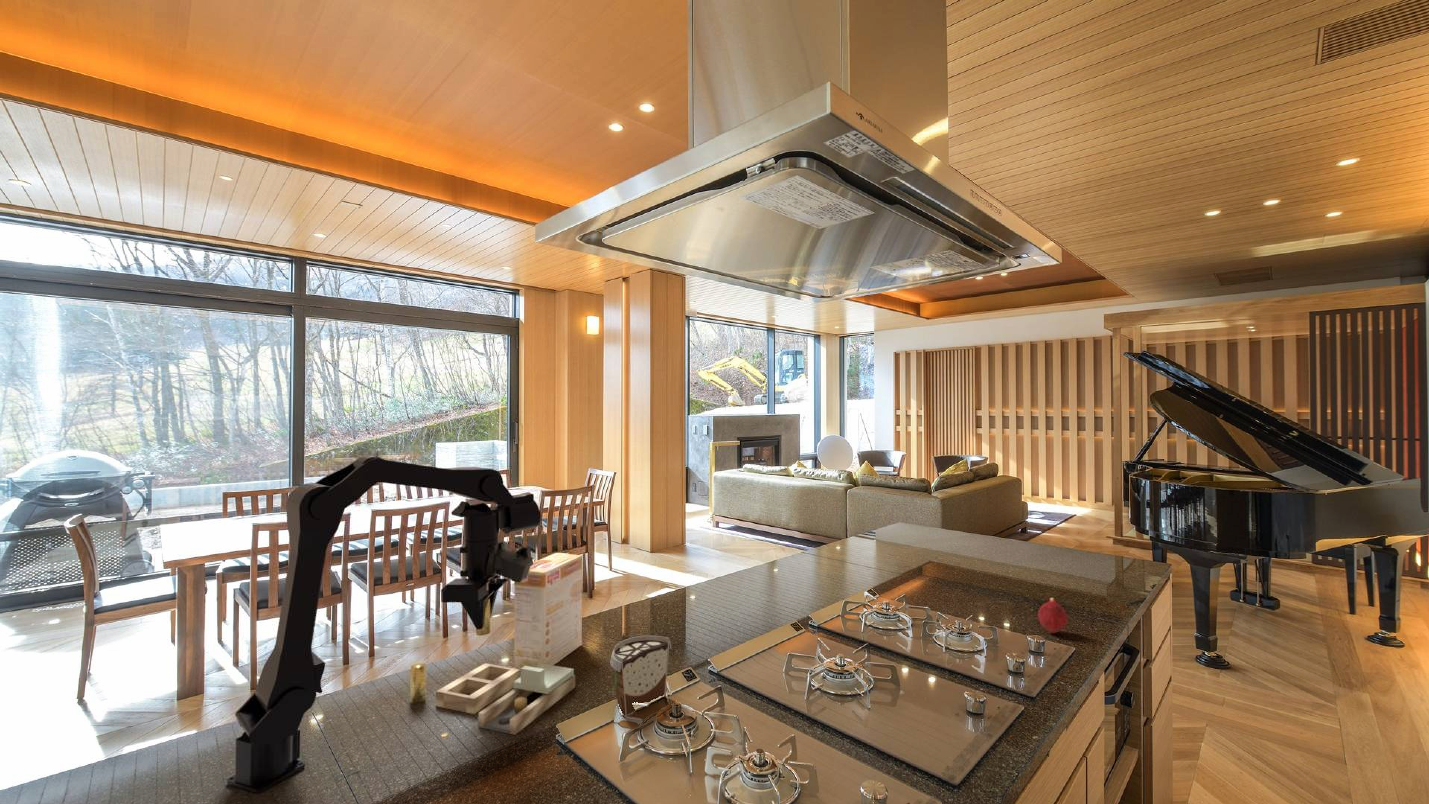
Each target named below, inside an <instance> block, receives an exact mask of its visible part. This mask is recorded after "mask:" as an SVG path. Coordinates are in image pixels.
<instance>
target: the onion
mask: <svg viewBox="0 0 1429 804" xmlns="http://www.w3.org/2000/svg"><path fill="white" fill-rule="evenodd" d="M1037 617H1038V621H1039V622H1040V624H1041V626H1042V627H1043V628H1044V629H1045V630H1047V631H1048V632H1049V633H1051V634H1056V633H1058V632H1060V631H1062V630H1063V629H1064V628H1065V627H1066V626H1067V624H1068V616H1067V612H1066V610H1065V609H1064V607H1062V606H1061V605H1060V604H1059V603H1058V602H1056V599H1055V598H1054V597H1051V598H1049V601H1048V602H1046V603H1043V605H1041V606H1040V608H1039V609H1038V612H1037Z"/></svg>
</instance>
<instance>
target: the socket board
mask: <svg viewBox="0 0 1429 804" xmlns="http://www.w3.org/2000/svg"><path fill="white" fill-rule="evenodd" d="M520 677H521V670H520V669H515V668H514V667H507V666H503V665H498V664H492V663H486V662H485V663H483V664H481V665H480V666H478V667H476V668H475V669H473V670H470V671H469V672H467V673H466V674H463V675H462V676H460V677H459V678H457V679H455V680H453V681H451V682H450V683H448V684H446V685H445V686H442V687H441V688H440V689H438V690H436V691H435V692H436V693H435V695H436V697H435V698H436V699H435V705H436V706H435V707H438V708H445V709H448V710H452V711H453V710H454V711H458V712H463V713H468V714H470V715H471V714H472V715H475V714H476V713H479V712H480V711H482V710H483V709H485V707H488V706H489V704H490V705H491V704H492V703H494V702H495V701H497V700H498V699H500V698H501V697H503V696H504V695H506V694H507V693H509V692H510V691H511V690H513V689H514V688H513V682H514V681H515V680H517V679H518V678H520Z"/></svg>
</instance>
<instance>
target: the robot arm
mask: <svg viewBox="0 0 1429 804" xmlns="http://www.w3.org/2000/svg"><path fill="white" fill-rule="evenodd" d="M379 483H383V484H390V485H391V484H392V485H400V486H409V487H417V488H425V489H433V490H440V491H441V490H442V491H445V492H447V493H450V494H453V495H457V496H459V497H463V498H466V499H470V500H477V501H480V503H475V504H470V503H469V502H467V501H462V500H461V501H460V503H459V504H458V505H457V506H456V507H455V508H454V509H453V510H451V515H452V516H456V517H458V518H463V524H464V526H463V529H464V531H463V533H464V534H463V536H464V537H463V539H464V541H463V542H464V544H462V546H460V547H459V553H460V554H464V568H462V569H461V570H460V572H459V574H460V575H459V576H460V578H455V579H453V580H451V581H450V582H448V583H446V584H445V585H444V587H442V589H441V590H440V602H442V603H460V604H461V605H462V606H463V608H464V609H465V611H466V613H467V615H468V617H469V618H470V621H471V622H472V624H473V626H474V627H475V630H476V629H482V628H483V625H484V619H485V611H486V603H487V599H488V598H490V619H492V614H493V610H494V607H495V603H496V599H497V596H498V593H499V590H500V589H501V588H503V586H504V585H505V584H506V583H507V582H508V581H509V579H510V581H512V582H521V581H522V580H523V579H524V578H525V577H527V575H528V572H529V569H530V566H531V565H533V562H534V561H533V560H534V557H533V556H532V552H531V548H530V547H527V546H521V547H520V548H519V549H517V551H516V552H515V550H511V551H509V550H507V549H505V548H506V547H505V543H504V540H500V539H499V538H500V531H499V529H500V530H501V531H502V532H503V533H504V534H512V533H517V532H522V531H527V530H533V529H534V530H535V529H537V527H538V526H539V525H540V522H541V517H542V516H541V515H542V514H541V511H540V508H539V505H538V504H537V502H536V501H535V497H534V495H535V494H534V493H529V492H525V493H521V494H518V495H517V494H516V495H512V493H511V492H510V491H509V490H508V489H507V487H506V485H505V484H504V479H503V476H502V475H501V473H500V471H498V470H496V469H493V468H488V467H487V468H485V467H478V466H466V467H465V466H459V467H449V468H447V467H446V468H445V467H444V468H443V467H435V466H430V465H429V466H428V465H422V464H417V463H410V462H409V463H408V462H404V461H403V462H402V461H395V460H389V459H384V458H382V457H380V456H374V455H373V456H372V455H363V456H360V457H359V458H357V459H356V460H354V461H352V462H350V463H349V464H348V465H346V466H344V467H342V468H340V469H338V470H336V471H334V472H331V473H330V474H327V475H325V476H324V477H322V478H320V479H319V480H317V481H315V482H309V483H304V484H302V485H299V486H297V487H296V488H294V489H293V490H292V491H291V492H290V493H289V494H288V496H287V499H286V503H285V507H286V526H287V530H288V536H289V542H290V552H289V559H288V565H287V570H286V571H287V572H286V576H285V583H284V588H283V589H284V590H283V597H282V602H281V608H280V614H279V620H278V626H277V631H276V638H275V644H274V647H273V649H272V652H271V653H270V655H269V656H268V658H267V660H266V662H265V663H264V665H263V667H262V670H261V673H260V676H259V679H258V681H257V684H256V687H255V691H254V692H253V694H251V696H250V697H249V698H248V699H247V700H246V701H245V702H244V703H243V704H242V705H241V706H240V707H239V709H237V711H236V712H235V714H234V716H235V718H236V720H237V722H238V723H239V726H240V727H241V728H242V729H243V730H244V732H243V733H242V735H241V736H239V737H237V738H235V759H234V760H235V763H234V764H235V765H234V768H235V769H234V775H232V776H230V777H228V778H227V779H226V784H227V785H230V786H233V787H237V788H239V789H244V790H246V791H248V792H253V793H256V794H259V793H262V792H263V791H265V790H267V789H269V788H271V787H273V786H274V785H276V784H278V783H279V782H282V781H283V780H284V779H287V778H288V777H290V776H292V775H293V774H295V773H296V772H298V771H300V770H302V769H304V768H305V767H306V761H302V760H299V759H300V757H301V734H302V733H301V729H300V725H301V722H302V720H303V717H304V715H305V713H307V711H309V710H310V709H311V708H312V707H313V705H314V704H315V701H316V697H317V693H318V694H322V693H323V689H322V683H321V682H322V679H323V678H322V677H323V674H324V672H325V669H326V668H325V667H326V662H325V661H324V660H323V659H321V658H320V657H319V656H318V655H317V654H316V653H315V652H313V651H312V650H313V649H312V644H313V641H314V640H313V639H314V634H315V633H314V631H315V627H316V619H317V615H318V614H317V613H318V608H319V600H320V595H321V589H322V588H321V587H322V581H323V577H324V575H323V574H324V568H325V563H326V555H327V550H328V548H329V545H330V544H331V542H332V540H333V538H334V537H335V535H336V533H337V532H338V530H339V526H340V524H341V521H342V518H343V516H344V512H345V509H347V508H348V507H349V506H350V505H352V504H354V503H355V502H357V501H358V500H359V499H360V498H361V497H363V495H365V494H366V493H367V492H368V491H369V490H370V489H371V488H372V487H373V486H374V485H375V486H376V485H377V484H379ZM485 502H486V503H485ZM487 503H491V504H496V505H493V506H492V505H491V506H489V505H488V504H487ZM461 577H463V578H461ZM464 577H465V578H464ZM501 577H504V578H501Z"/></svg>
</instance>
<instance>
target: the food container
mask: <svg viewBox="0 0 1429 804" xmlns="http://www.w3.org/2000/svg"><path fill="white" fill-rule="evenodd" d="M670 650H672V643H671V640H670V638H669V637H667V636H666V637H665V636H660V635H640V636H632V637H630V638H626V639H624V640H621V641H619V642H618V643H616V644H615V646H614V648H613V650H612V651H611V652H612V653H611V657H610V660H609V661H610V663H609V664H610V666H611V667H612V669H614V677H615V679H614V680H615V688H616V689H615V690H616V702H617V705H618V704H619V707H620V709H621V711H622V713H623V714H624V715H626V716H627V715H630V716H632V715H633V713H634V712H635V709H634V707H633V705H632V703H634V702H635V703H636V702H638V703H644V702H650V701H651V700H653V699H656V698H658V697H659V696H663V695H664V694H665V693H666V691H667V680H668V679H667V678H668V667H669V666H668V664H669V651H670ZM666 694H667V693H666ZM635 713H636V712H635ZM635 713H634V714H635ZM631 714H632V715H631Z"/></svg>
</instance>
